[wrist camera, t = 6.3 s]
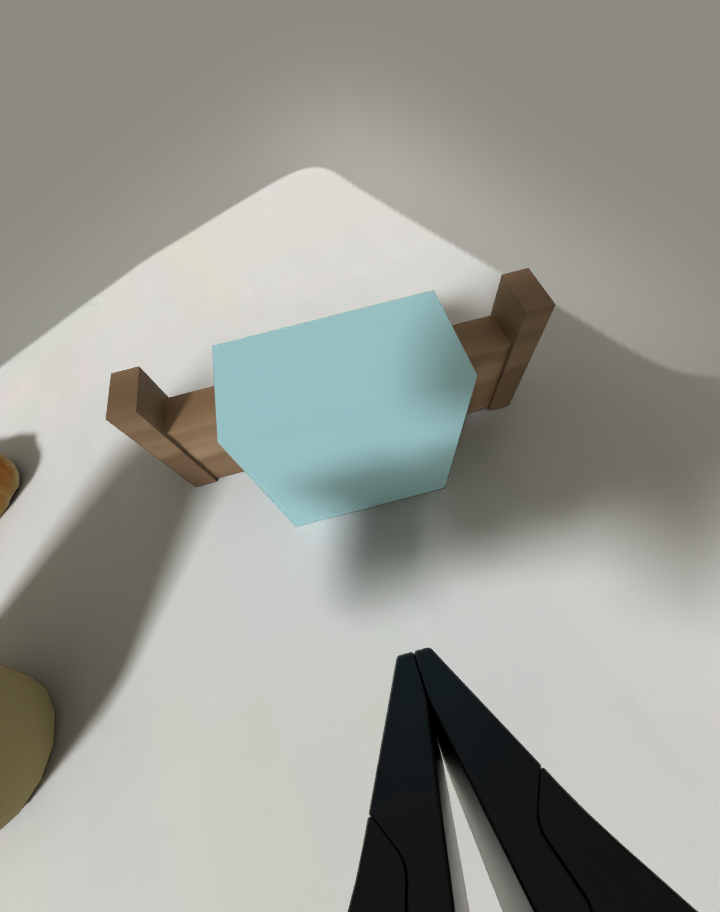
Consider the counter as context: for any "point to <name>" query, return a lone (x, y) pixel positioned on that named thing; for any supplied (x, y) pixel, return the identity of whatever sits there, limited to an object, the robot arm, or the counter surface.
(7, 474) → the pastry
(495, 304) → the rail
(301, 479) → the pale blue brick
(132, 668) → the counter surface
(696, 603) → the counter surface
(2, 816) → the squeeze bottle
